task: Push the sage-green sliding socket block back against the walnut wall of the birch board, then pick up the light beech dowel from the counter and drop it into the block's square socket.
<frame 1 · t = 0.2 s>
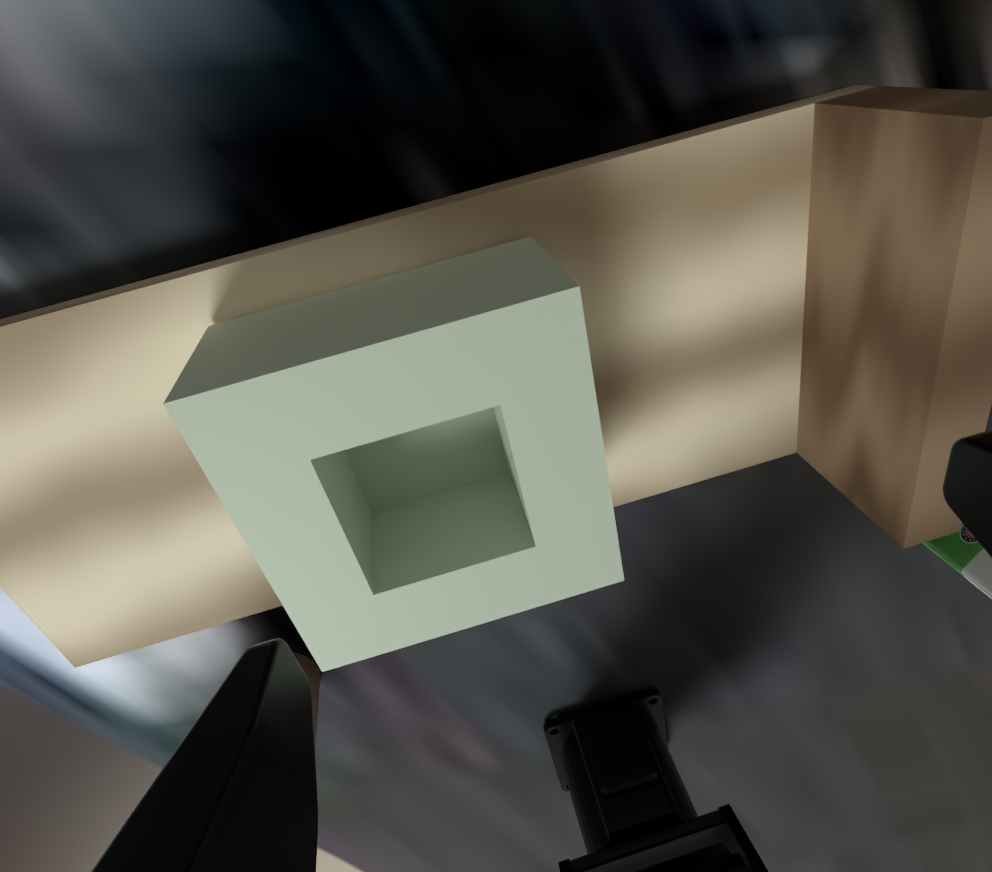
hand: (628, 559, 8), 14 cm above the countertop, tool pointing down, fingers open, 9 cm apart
wall board: (421, 401, 22), on the countertop
dowel: (278, 678, 28), on the countertop
socket block: (424, 458, 19), point 4 cm above the countertop, slide at 9.0 cm
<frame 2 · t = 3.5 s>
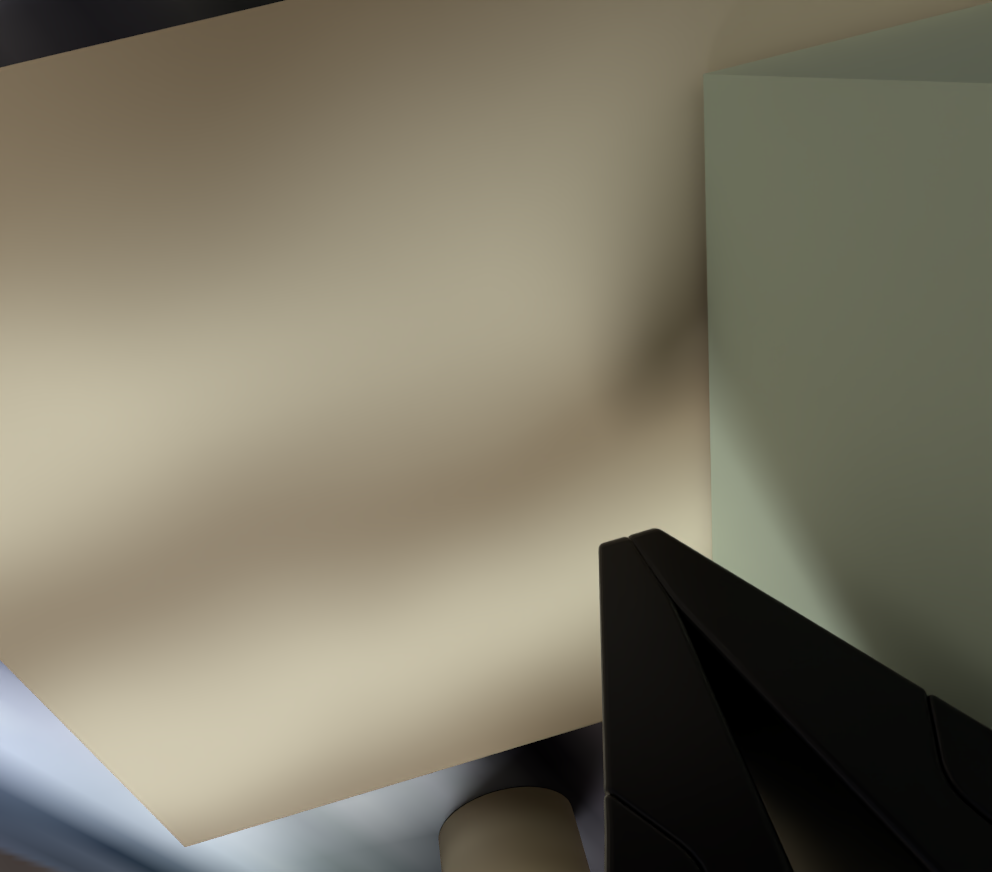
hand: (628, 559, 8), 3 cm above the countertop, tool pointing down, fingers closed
wall board: (936, 334, 11), on the countertop
dowel: (506, 827, 16), on the countertop
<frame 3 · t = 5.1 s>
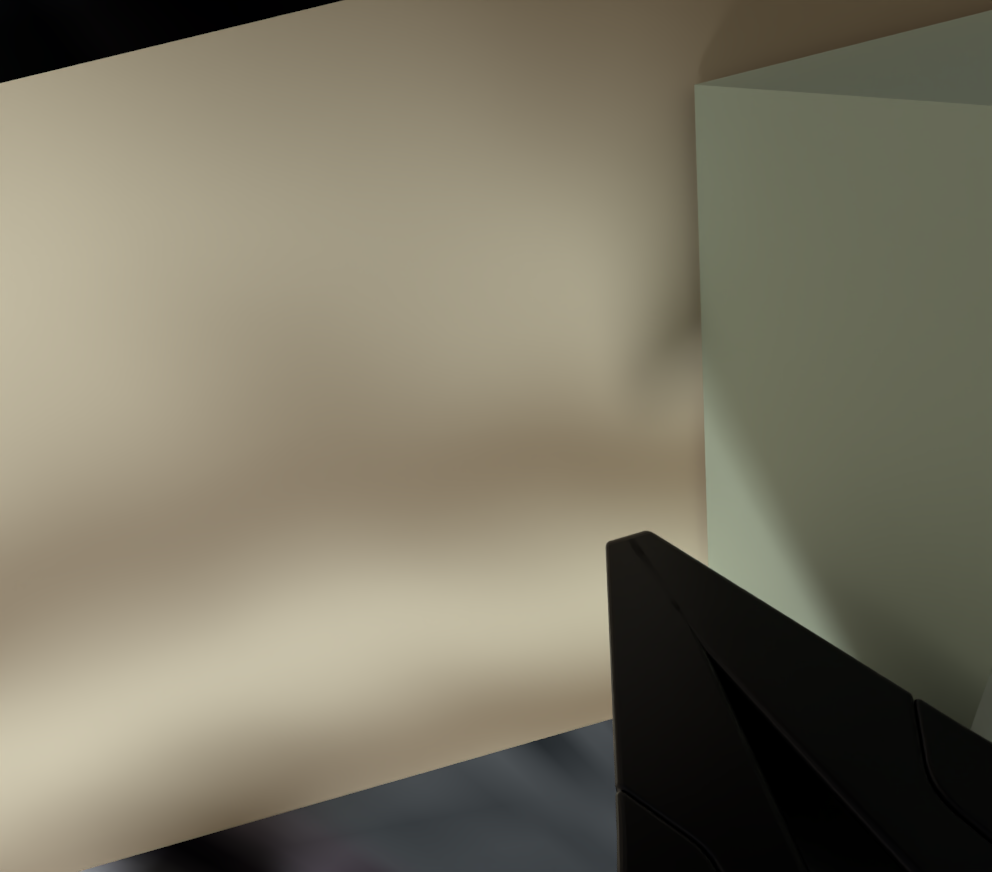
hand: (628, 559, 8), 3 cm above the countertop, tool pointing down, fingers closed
wall board: (453, 470, 11), on the countertop
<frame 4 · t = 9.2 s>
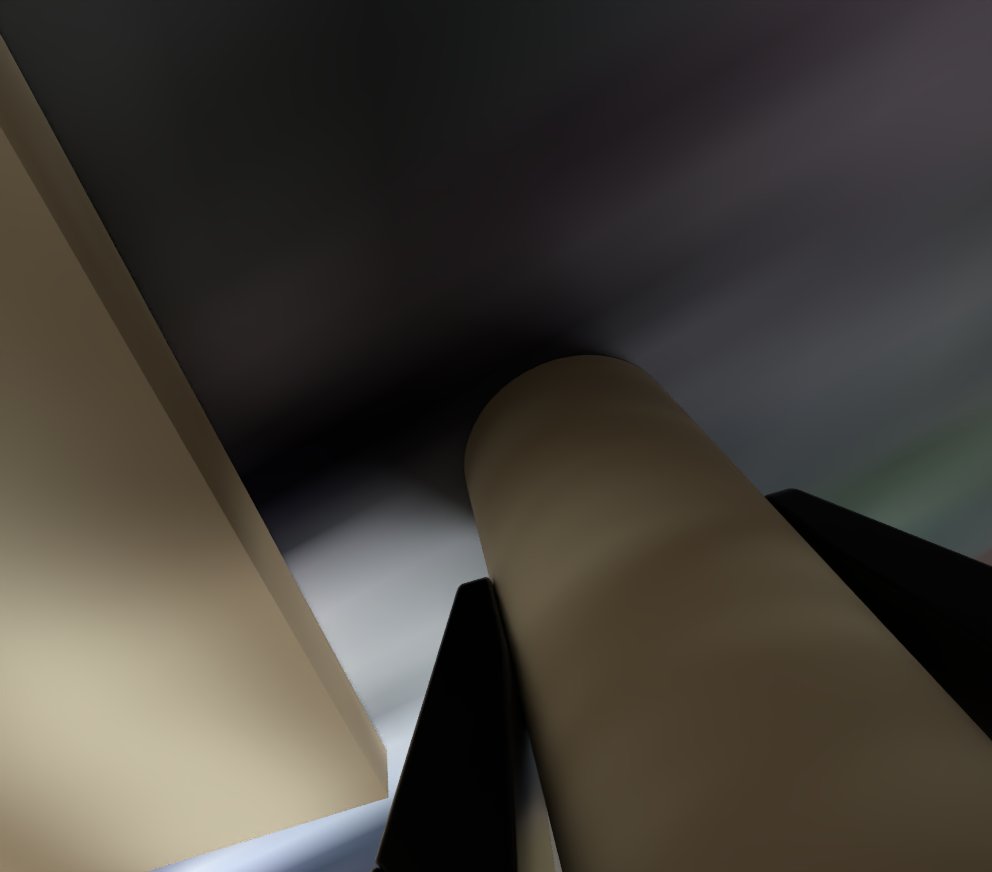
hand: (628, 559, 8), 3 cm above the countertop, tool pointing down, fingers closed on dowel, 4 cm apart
dowel: (572, 456, 10), on the countertop, touching gripper
when the fingers open (7 cm above the countertop, at t = 13.4 s): dowel drops 2 cm, resting on socket block.
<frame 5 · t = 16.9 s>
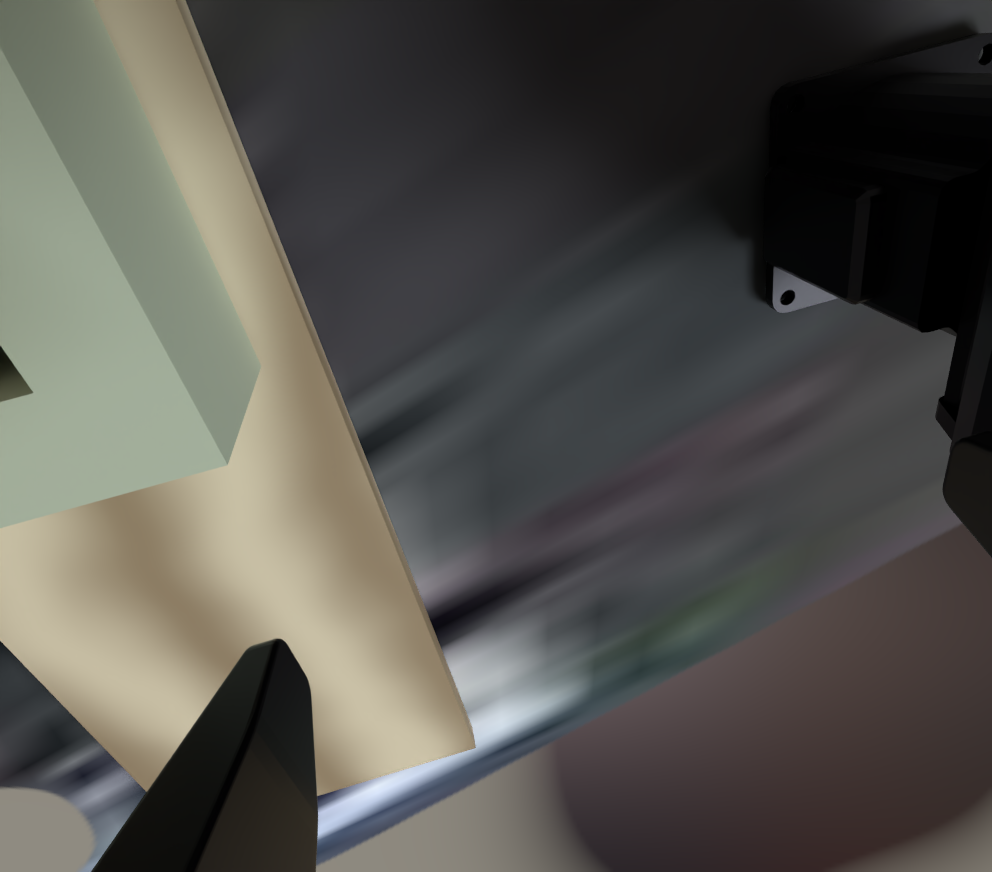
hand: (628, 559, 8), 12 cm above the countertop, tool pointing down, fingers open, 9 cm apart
wall board: (161, 498, 20), on the countertop
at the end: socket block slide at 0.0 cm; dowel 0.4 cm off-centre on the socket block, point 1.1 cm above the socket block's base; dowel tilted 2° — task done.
